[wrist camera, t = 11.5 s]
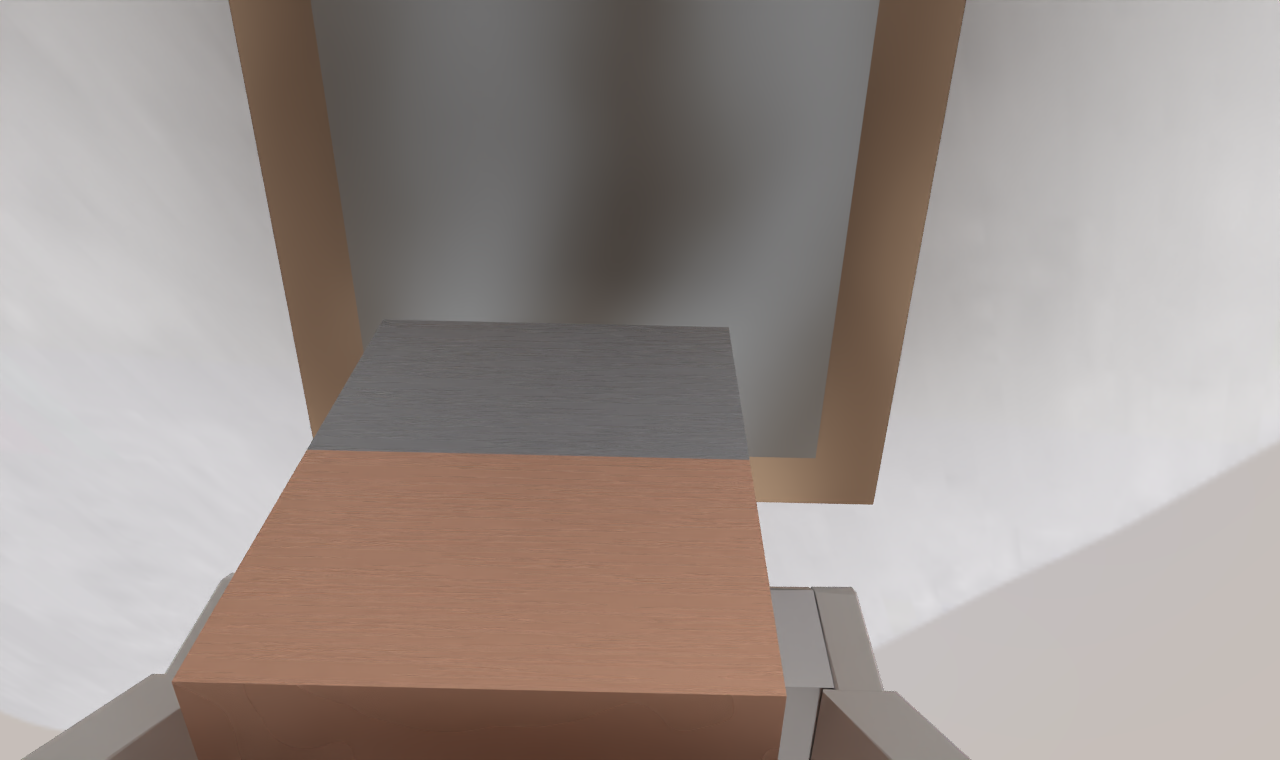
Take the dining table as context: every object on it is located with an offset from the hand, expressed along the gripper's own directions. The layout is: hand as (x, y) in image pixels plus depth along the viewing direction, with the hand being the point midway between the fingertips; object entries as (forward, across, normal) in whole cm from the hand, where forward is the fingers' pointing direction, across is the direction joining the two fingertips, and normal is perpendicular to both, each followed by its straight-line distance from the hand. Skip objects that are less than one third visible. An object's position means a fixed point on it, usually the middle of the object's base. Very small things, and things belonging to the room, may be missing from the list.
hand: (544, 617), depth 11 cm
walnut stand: (+18, 0, 0) cm, 18 cm away
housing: (+2, 0, 0) cm, 2 cm away
